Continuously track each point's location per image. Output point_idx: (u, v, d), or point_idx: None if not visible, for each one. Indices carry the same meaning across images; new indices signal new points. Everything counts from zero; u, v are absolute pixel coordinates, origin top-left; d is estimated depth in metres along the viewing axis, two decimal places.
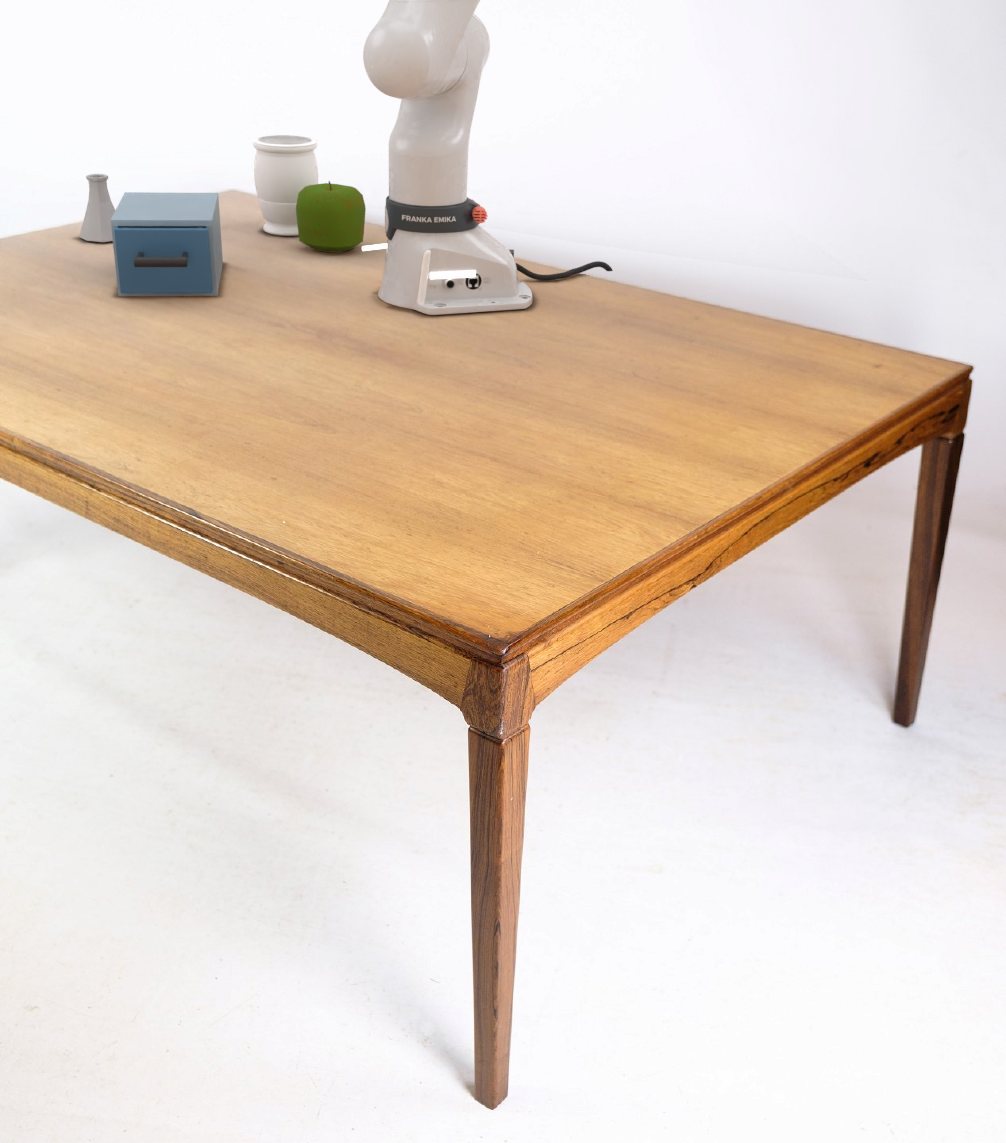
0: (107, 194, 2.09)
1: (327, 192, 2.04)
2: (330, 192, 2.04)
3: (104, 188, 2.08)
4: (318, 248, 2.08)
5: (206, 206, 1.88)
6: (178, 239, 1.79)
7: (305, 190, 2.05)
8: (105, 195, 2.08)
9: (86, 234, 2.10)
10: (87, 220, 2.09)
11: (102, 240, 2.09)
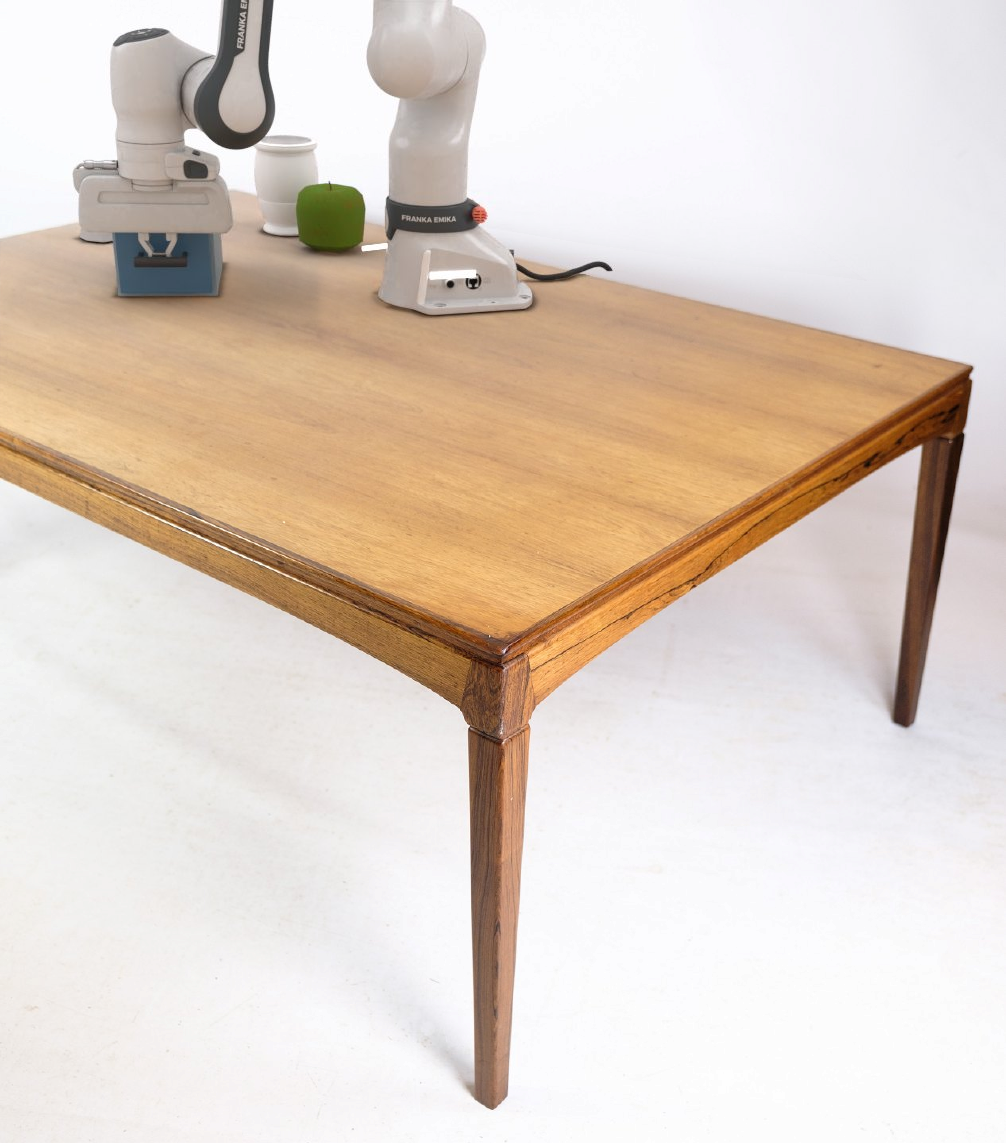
0: None
1: (327, 192, 2.04)
2: (330, 192, 2.04)
3: None
4: (318, 248, 2.08)
5: None
6: (178, 239, 1.79)
7: (305, 190, 2.05)
8: None
9: (86, 234, 2.10)
10: None
11: (102, 240, 2.09)
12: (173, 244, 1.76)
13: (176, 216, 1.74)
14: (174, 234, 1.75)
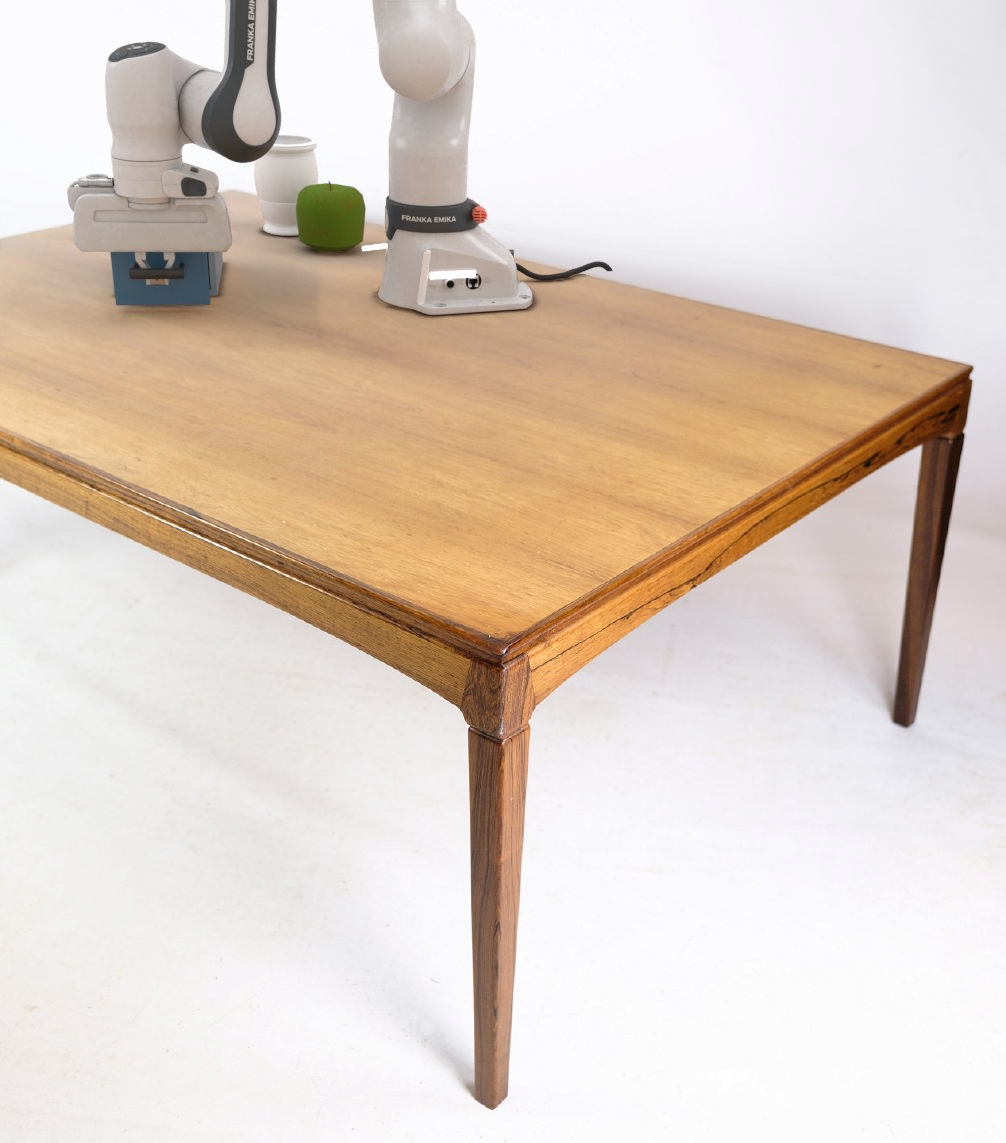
0: None
1: (327, 192, 2.04)
2: (330, 192, 2.04)
3: None
4: (318, 248, 2.08)
5: None
6: None
7: (305, 190, 2.05)
8: None
9: None
10: None
11: None
12: (171, 263, 1.71)
13: (174, 234, 1.69)
14: (172, 253, 1.71)
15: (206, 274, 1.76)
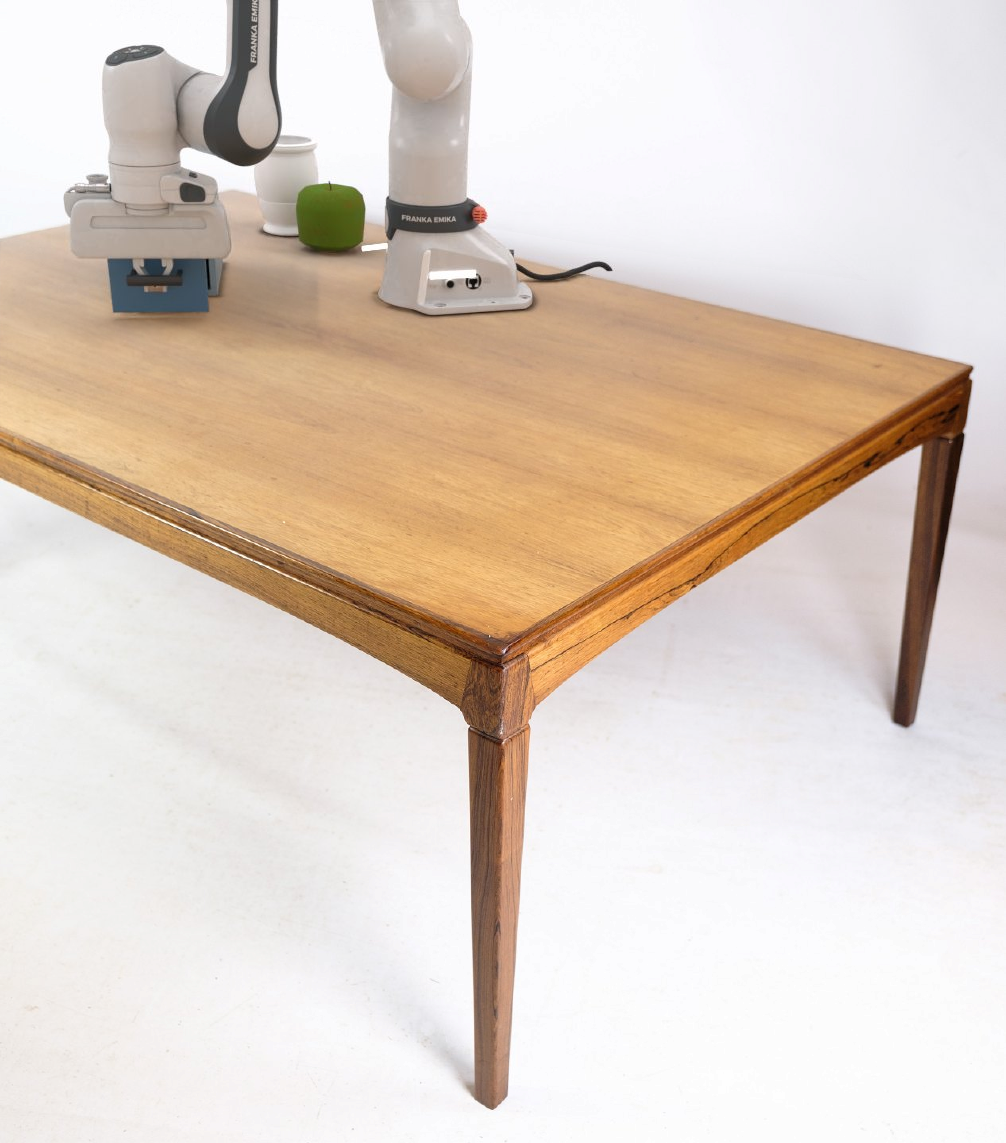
0: None
1: (327, 192, 2.04)
2: (330, 192, 2.04)
3: None
4: (318, 248, 2.08)
5: None
6: None
7: (305, 190, 2.05)
8: None
9: None
10: None
11: None
12: (169, 270, 1.68)
13: (172, 241, 1.66)
14: (170, 259, 1.68)
15: (205, 281, 1.73)
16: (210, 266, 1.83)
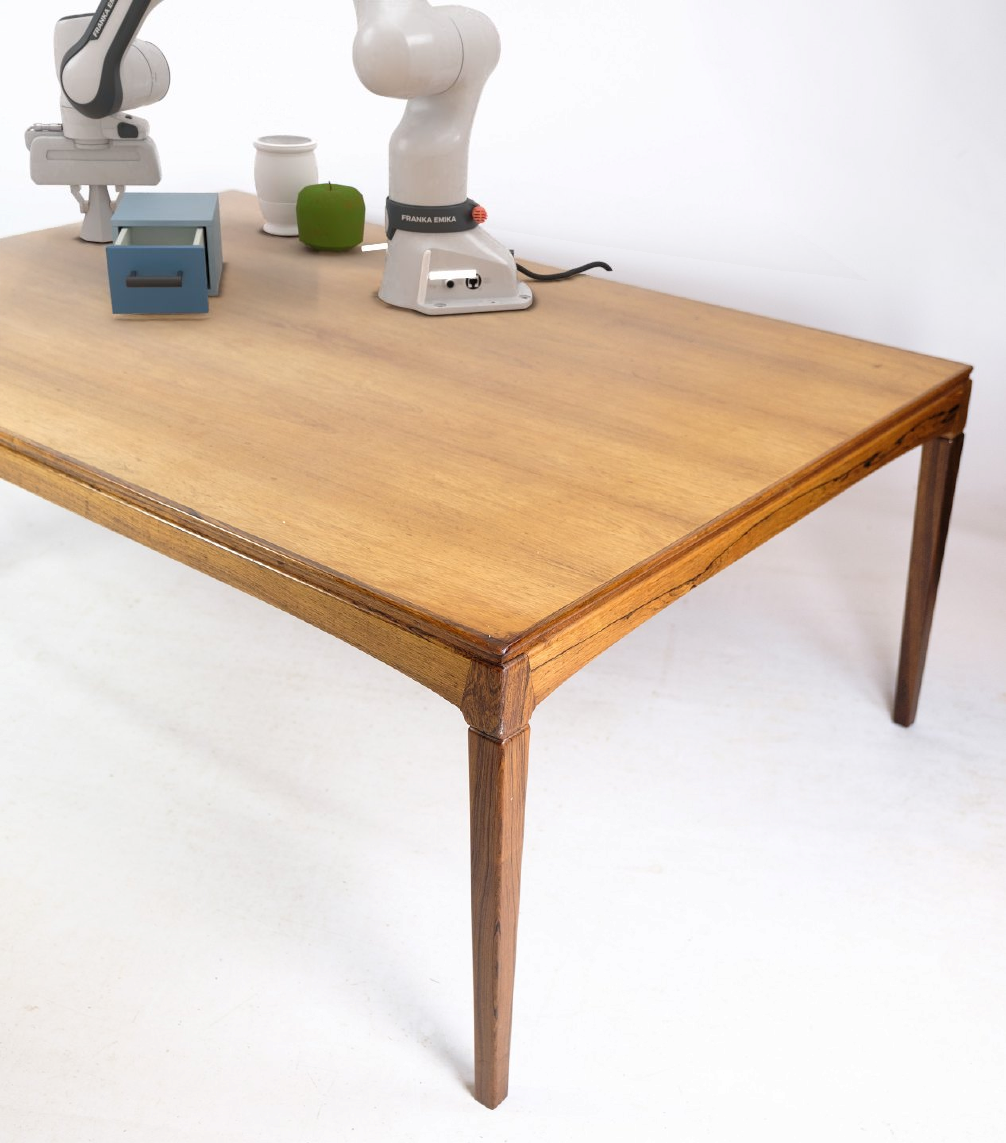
0: (107, 194, 2.09)
1: (327, 192, 2.04)
2: (330, 192, 2.04)
3: (104, 188, 2.08)
4: (318, 248, 2.08)
5: (206, 206, 1.88)
6: (173, 257, 1.71)
7: (305, 190, 2.05)
8: (105, 195, 2.08)
9: (86, 234, 2.10)
10: (87, 220, 2.09)
11: (102, 240, 2.09)
12: (121, 195, 2.08)
13: (112, 170, 2.06)
14: (122, 186, 2.08)
15: (204, 282, 1.73)
16: (210, 266, 1.83)
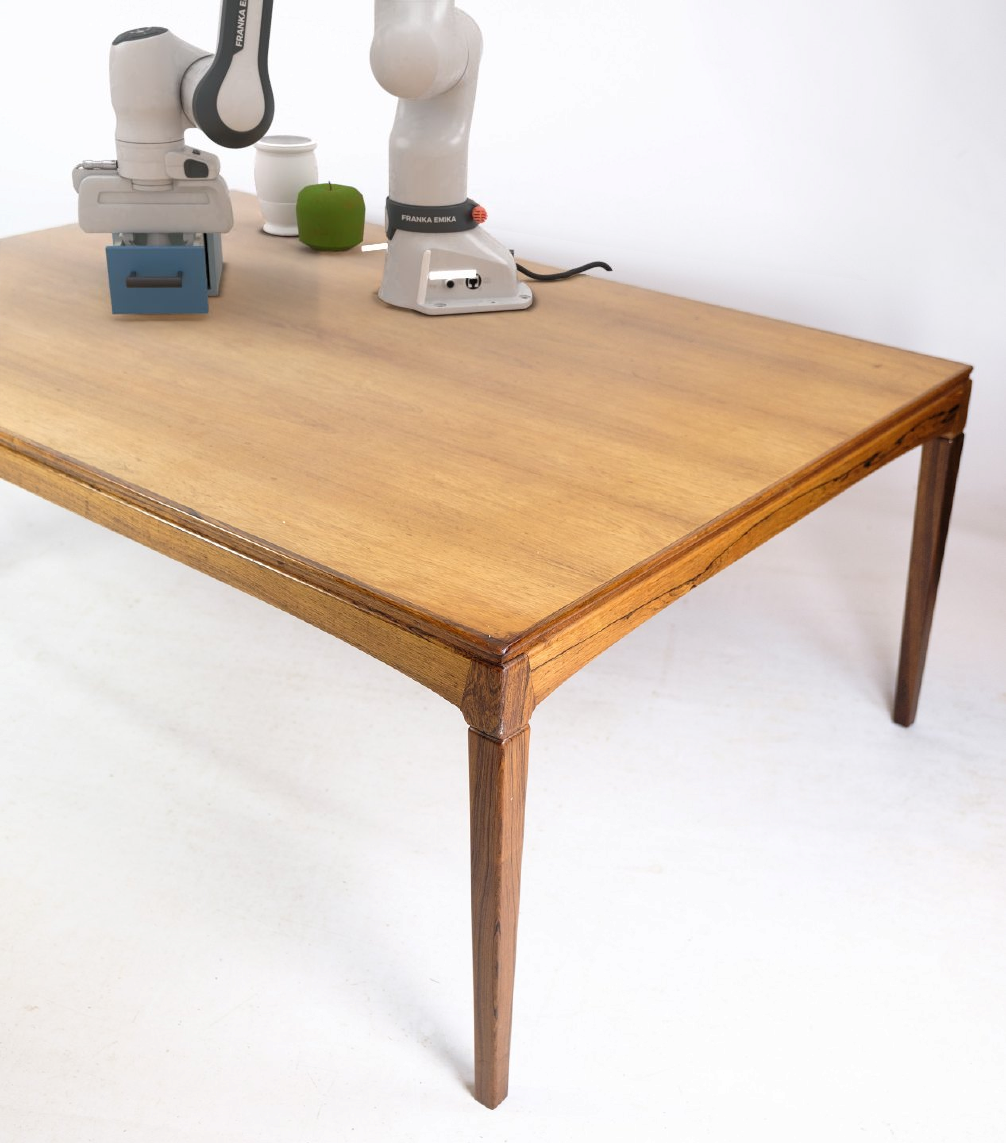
0: (168, 242, 1.75)
1: (327, 192, 2.04)
2: (330, 192, 2.04)
3: (165, 235, 1.74)
4: (318, 248, 2.08)
5: None
6: (173, 258, 1.71)
7: (305, 190, 2.05)
8: (166, 243, 1.75)
9: None
10: None
11: None
12: (190, 244, 1.75)
13: (176, 216, 1.72)
14: (191, 234, 1.74)
15: (204, 282, 1.73)
16: (210, 266, 1.83)
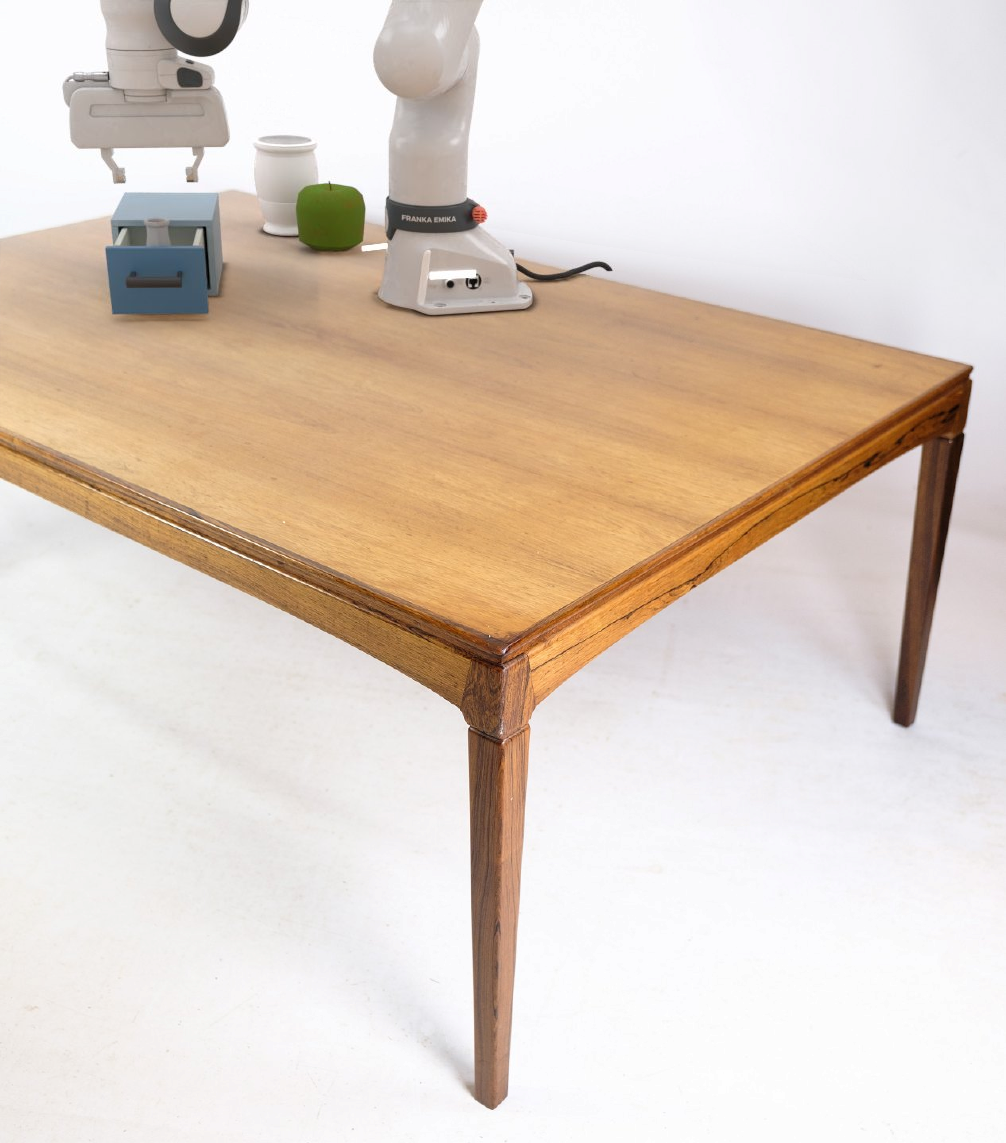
0: (168, 242, 1.75)
1: (327, 192, 2.04)
2: (330, 192, 2.04)
3: (165, 235, 1.74)
4: (318, 248, 2.08)
5: (206, 206, 1.88)
6: (173, 258, 1.71)
7: (305, 190, 2.05)
8: (166, 243, 1.75)
9: None
10: None
11: None
12: (200, 159, 1.70)
13: (171, 129, 1.67)
14: (201, 148, 1.70)
15: (204, 282, 1.73)
16: (210, 266, 1.83)
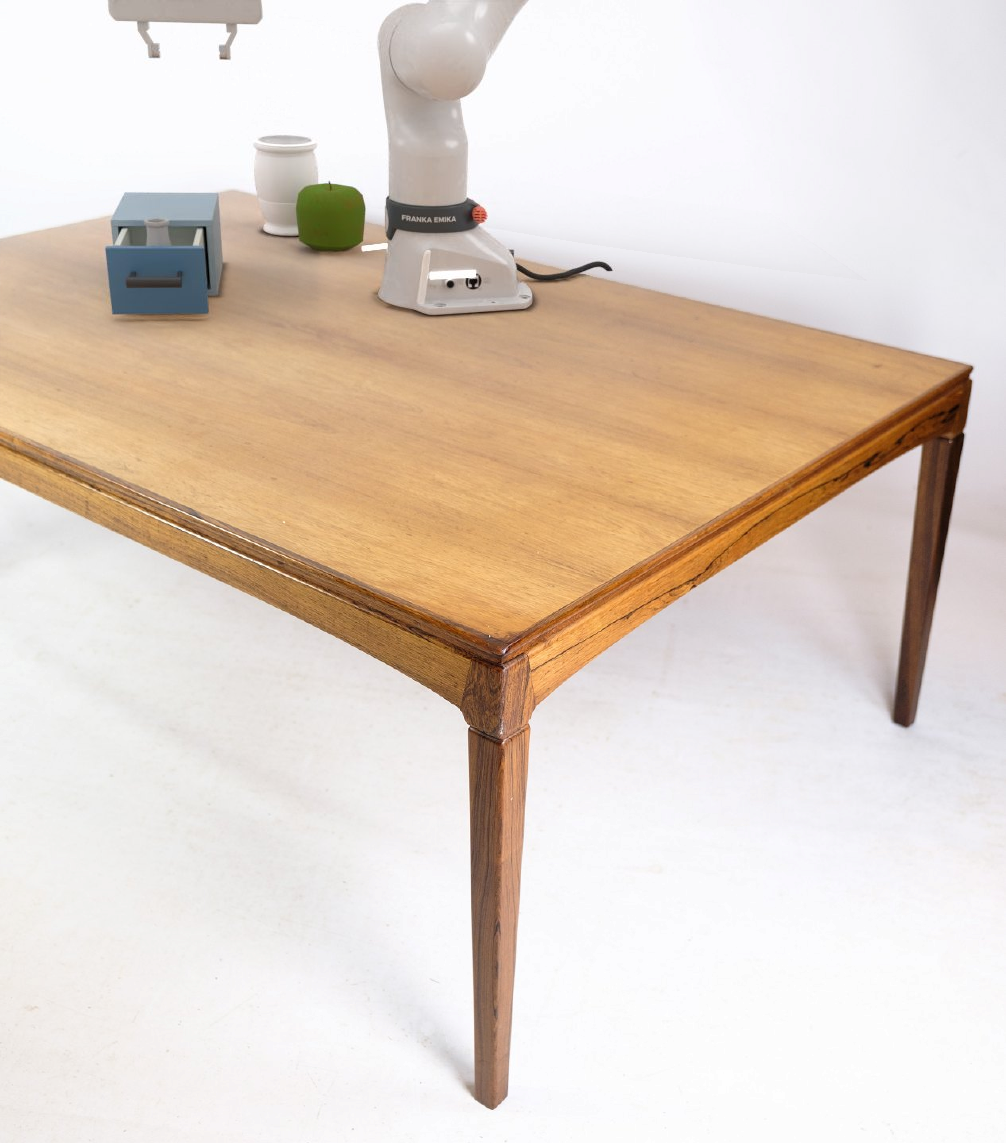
0: (168, 242, 1.75)
1: (327, 192, 2.04)
2: (330, 192, 2.04)
3: (165, 235, 1.74)
4: (318, 248, 2.08)
5: (206, 206, 1.88)
6: (173, 258, 1.71)
7: (305, 190, 2.05)
8: (166, 243, 1.75)
9: None
10: None
11: None
12: None
13: None
14: None
15: (204, 282, 1.73)
16: (210, 266, 1.83)
